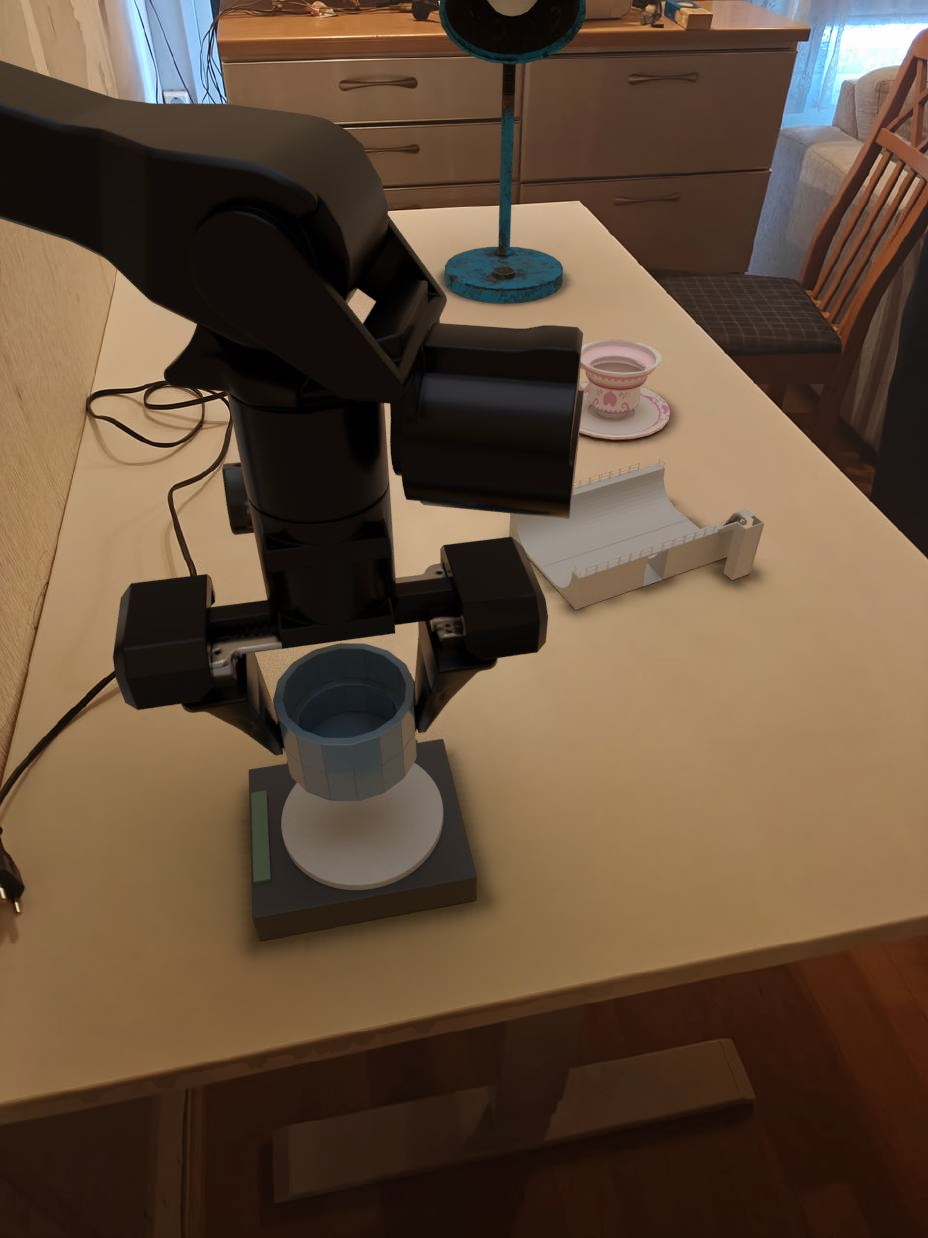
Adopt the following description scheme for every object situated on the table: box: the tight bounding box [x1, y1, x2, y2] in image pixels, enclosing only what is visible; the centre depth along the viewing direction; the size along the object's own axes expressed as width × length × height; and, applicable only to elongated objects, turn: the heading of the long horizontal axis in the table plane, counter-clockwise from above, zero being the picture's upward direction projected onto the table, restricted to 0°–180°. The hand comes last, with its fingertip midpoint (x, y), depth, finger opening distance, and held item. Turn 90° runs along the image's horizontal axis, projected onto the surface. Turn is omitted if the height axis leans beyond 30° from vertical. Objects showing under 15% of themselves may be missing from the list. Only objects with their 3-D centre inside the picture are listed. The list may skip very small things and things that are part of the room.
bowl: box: [272, 642, 419, 801], centre depth 45 cm, size 7×7×5 cm
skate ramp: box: [508, 459, 765, 611], centre depth 71 cm, size 15×13×5 cm
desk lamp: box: [438, 0, 587, 304], centre depth 101 cm, size 16×22×45 cm
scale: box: [248, 738, 478, 941], centre depth 50 cm, size 12×10×3 cm
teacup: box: [579, 339, 671, 441], centre depth 88 cm, size 12×12×6 cm
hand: (351, 737), depth 45 cm, fingers closed on bowl, 7 cm apart
